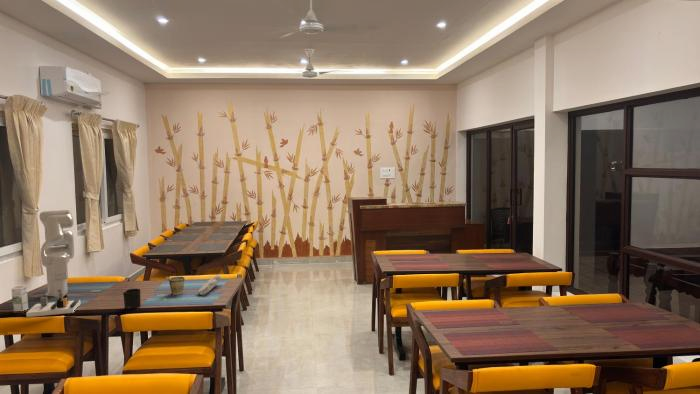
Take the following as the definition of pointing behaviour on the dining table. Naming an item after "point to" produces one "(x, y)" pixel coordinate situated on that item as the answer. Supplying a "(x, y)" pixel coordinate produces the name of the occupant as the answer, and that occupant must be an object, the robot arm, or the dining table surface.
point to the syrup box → (19, 298)
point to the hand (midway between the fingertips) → (62, 305)
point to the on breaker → (44, 301)
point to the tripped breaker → (64, 301)
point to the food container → (209, 285)
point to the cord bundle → (70, 305)
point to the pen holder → (132, 298)
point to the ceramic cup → (177, 285)
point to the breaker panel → (46, 309)
